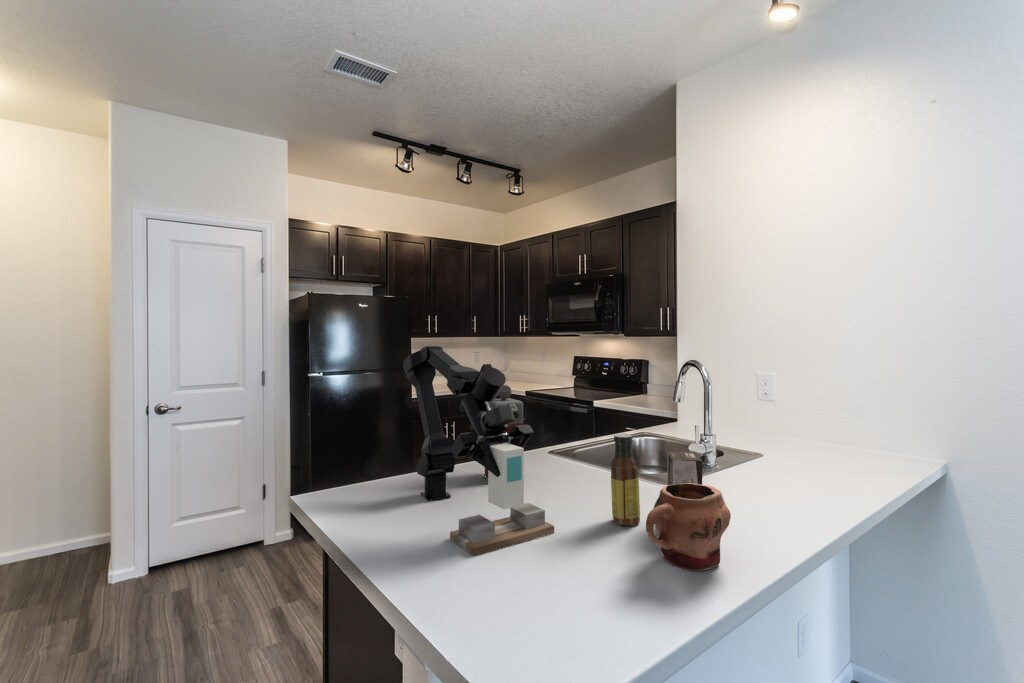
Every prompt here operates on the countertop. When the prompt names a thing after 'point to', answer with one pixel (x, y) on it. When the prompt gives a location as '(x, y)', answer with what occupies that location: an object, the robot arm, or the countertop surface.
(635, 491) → the sauce bottle
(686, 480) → the coffee box
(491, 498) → the block
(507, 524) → the rail board
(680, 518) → the terracotta clay mug
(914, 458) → the countertop surface
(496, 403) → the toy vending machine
